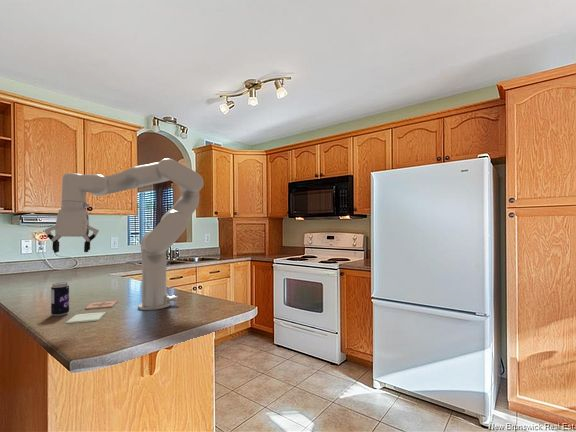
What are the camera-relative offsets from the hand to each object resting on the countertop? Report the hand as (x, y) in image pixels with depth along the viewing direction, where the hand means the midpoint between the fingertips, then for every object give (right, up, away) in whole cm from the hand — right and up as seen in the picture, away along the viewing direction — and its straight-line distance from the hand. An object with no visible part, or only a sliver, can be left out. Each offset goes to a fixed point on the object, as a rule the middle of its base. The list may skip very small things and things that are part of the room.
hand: (71, 252), depth 121 cm
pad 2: (+1, -25, +17) cm, 30 cm away
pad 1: (+7, -24, -2) cm, 25 cm away
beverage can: (-7, -25, +4) cm, 26 cm away
